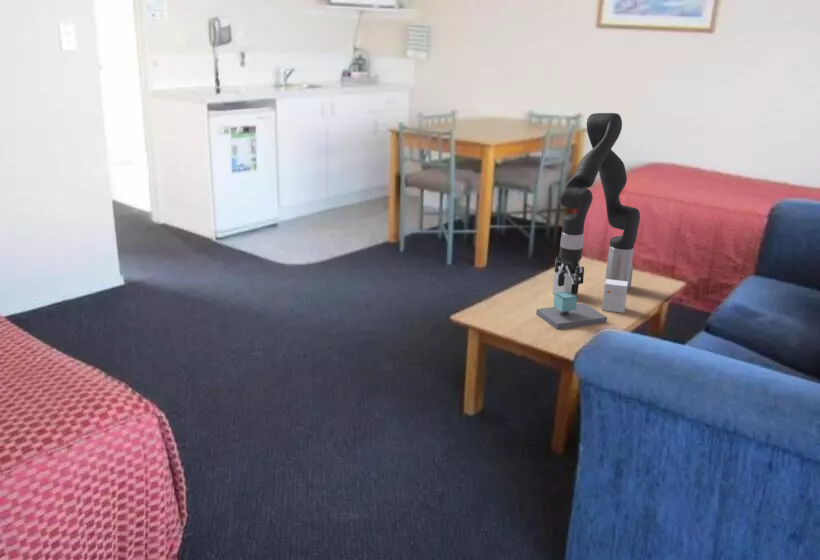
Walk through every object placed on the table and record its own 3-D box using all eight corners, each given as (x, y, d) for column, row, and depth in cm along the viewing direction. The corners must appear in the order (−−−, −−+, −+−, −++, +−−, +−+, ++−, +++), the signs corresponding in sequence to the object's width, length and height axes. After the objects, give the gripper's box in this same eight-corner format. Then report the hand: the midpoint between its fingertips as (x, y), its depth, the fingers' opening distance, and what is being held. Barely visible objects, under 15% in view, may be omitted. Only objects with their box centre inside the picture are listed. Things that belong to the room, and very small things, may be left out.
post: (565, 311, 243) (567, 294, 241) (570, 314, 240) (572, 297, 238) (558, 312, 242) (560, 295, 240) (562, 315, 239) (564, 298, 237)
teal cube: (567, 304, 244) (568, 291, 242) (575, 309, 239) (577, 296, 237) (553, 306, 242) (554, 292, 240) (561, 311, 237) (563, 298, 235)
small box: (624, 307, 253) (628, 281, 250) (624, 313, 248) (627, 286, 245) (602, 304, 256) (605, 278, 252) (601, 310, 251) (604, 283, 247)
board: (583, 308, 252) (584, 303, 252) (606, 322, 240) (607, 317, 239) (536, 314, 246) (536, 309, 245) (556, 329, 233) (557, 323, 233)
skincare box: (565, 289, 271) (568, 253, 266) (577, 293, 266) (581, 257, 261) (551, 294, 266) (554, 257, 260) (563, 298, 261) (567, 261, 256)
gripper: (593, 250, 227) (588, 295, 233) (569, 238, 240) (565, 281, 246) (573, 252, 225) (569, 298, 231) (550, 240, 238) (547, 284, 243)
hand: (567, 289), depth 238 cm, fingers open, 8 cm apart
